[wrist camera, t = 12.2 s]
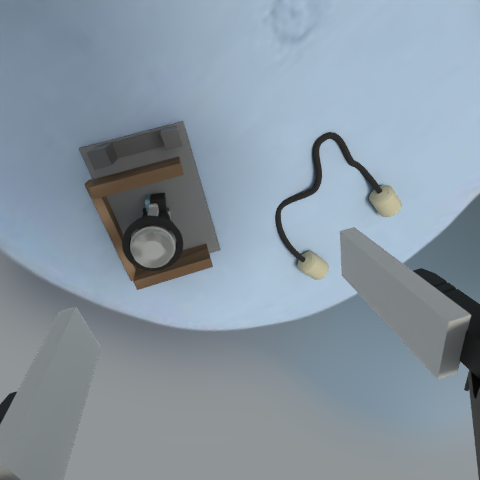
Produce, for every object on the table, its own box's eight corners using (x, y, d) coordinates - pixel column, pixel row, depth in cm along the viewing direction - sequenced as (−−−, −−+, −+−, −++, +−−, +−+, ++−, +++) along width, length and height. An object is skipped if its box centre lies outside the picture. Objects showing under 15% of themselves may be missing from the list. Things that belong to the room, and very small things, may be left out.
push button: (184, 240, 37) (188, 284, 28) (139, 245, 36) (130, 292, 27) (177, 188, 34) (179, 218, 25) (129, 192, 33) (114, 225, 24)
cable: (240, 214, 38) (247, 224, 35) (334, 118, 36) (350, 119, 33) (310, 278, 45) (320, 290, 42) (393, 200, 42) (411, 208, 39)
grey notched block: (97, 146, 30) (86, 152, 27) (176, 125, 31) (177, 129, 27) (103, 161, 31) (94, 169, 27) (181, 140, 32) (182, 146, 28)
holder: (88, 180, 32) (78, 190, 28) (179, 156, 33) (180, 163, 29) (132, 274, 37) (128, 292, 34) (208, 251, 38) (212, 266, 35)
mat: (80, 147, 31) (78, 148, 30) (183, 121, 32) (183, 121, 31) (137, 272, 38) (137, 275, 37) (219, 247, 39) (220, 249, 38)
